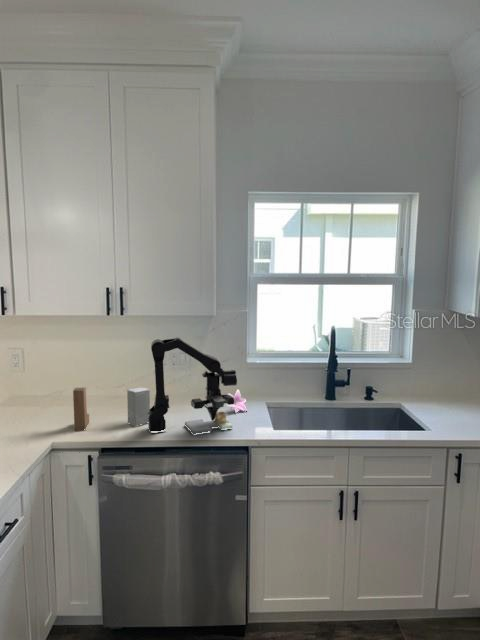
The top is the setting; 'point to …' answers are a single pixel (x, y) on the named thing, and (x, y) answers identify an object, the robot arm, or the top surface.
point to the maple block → (220, 417)
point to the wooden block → (80, 409)
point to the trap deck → (205, 425)
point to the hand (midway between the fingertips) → (212, 420)
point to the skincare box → (138, 405)
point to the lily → (238, 401)
